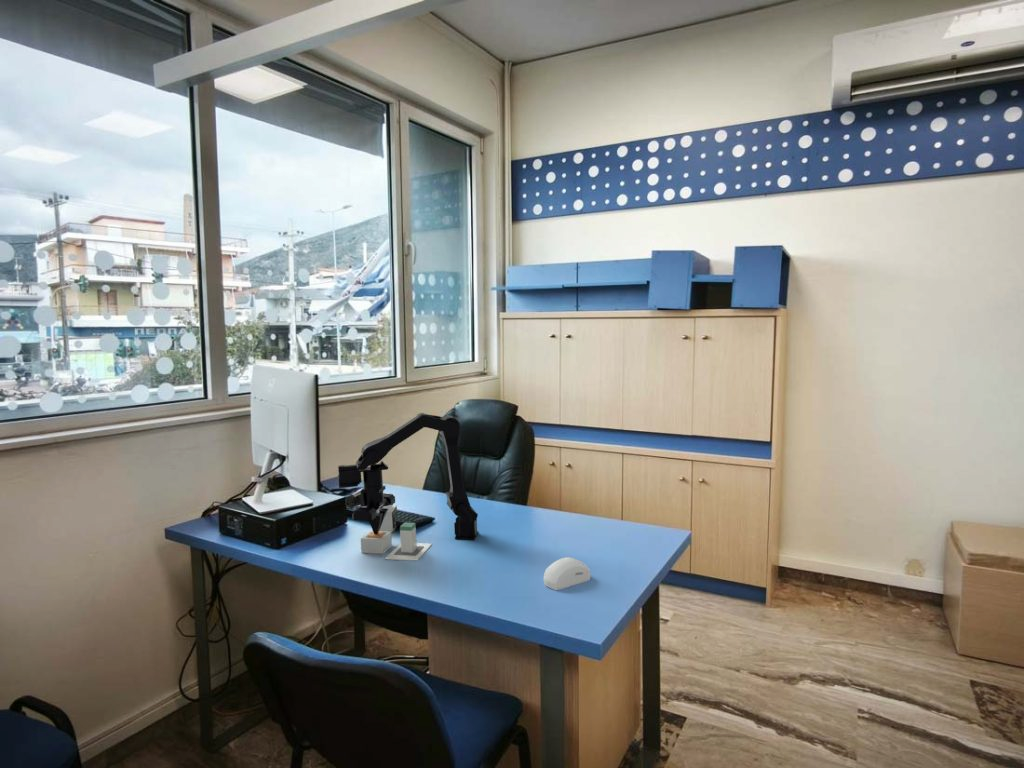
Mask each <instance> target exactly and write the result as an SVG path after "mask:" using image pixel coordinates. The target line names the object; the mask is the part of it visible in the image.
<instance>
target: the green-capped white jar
mask: <svg viewBox="0 0 1024 768" xmlns="http://www.w3.org/2000/svg"><path fill="white" fill-rule="evenodd" d="M416 527H417V526H416V522H403V523H402V524H401V525H400V526H399V533H400V534H399V536H400V537H399V538H400V544H401V552H408V553H413V552H414V551H415V550H416V548H417V544H416V543H417V530H416V529H417V528H416Z"/></svg>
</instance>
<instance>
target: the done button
mask: <svg viewBox="0 0 1024 768" xmlns="http://www.w3.org/2000/svg"><path fill="white" fill-rule="evenodd" d="M383 535H384V532H379V533H378V534H374V532H372V533H371V534H369V535H368V538H381V537H382V536H383Z"/></svg>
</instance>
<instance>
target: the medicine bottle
mask: <svg viewBox="0 0 1024 768" xmlns="http://www.w3.org/2000/svg"><path fill="white" fill-rule="evenodd" d="M383 494H391V493H389V492H383ZM383 506H384V508H386V509H388V511H387V513H386V515H385V517H384V520H383V522H382V525H381V528H380V530H379V531H391V533H393V532H395V529H396V528H397V526H396V519H397V520H398V508H397V507H398V506H397V505H396V504H393V505H390V503H389V502H386V503H385V504H384V505H383ZM371 531H373V530H372V529H371Z"/></svg>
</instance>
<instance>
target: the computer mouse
mask: <svg viewBox="0 0 1024 768" xmlns="http://www.w3.org/2000/svg"><path fill="white" fill-rule="evenodd" d="M590 580H591V570H590V569H589V567H588V566H587V565H586V564H585V563H584V562H583V561H581V560H578V559H576V558H573V557H568V556H567V557H566V556H565V557H562V558H560V559H557V560H556V561H554V562H552V563H551V564H549V565H548V567H547V568H546V569H545V571H544V573H543V583H544V585H545V586H546V587H548V588H549V589H552V590H554V591H559V590H564V589H566V588H567V589H568V588H569V587H572V586H576V585H579V584H583V583H586V582H588V581H590Z"/></svg>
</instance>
